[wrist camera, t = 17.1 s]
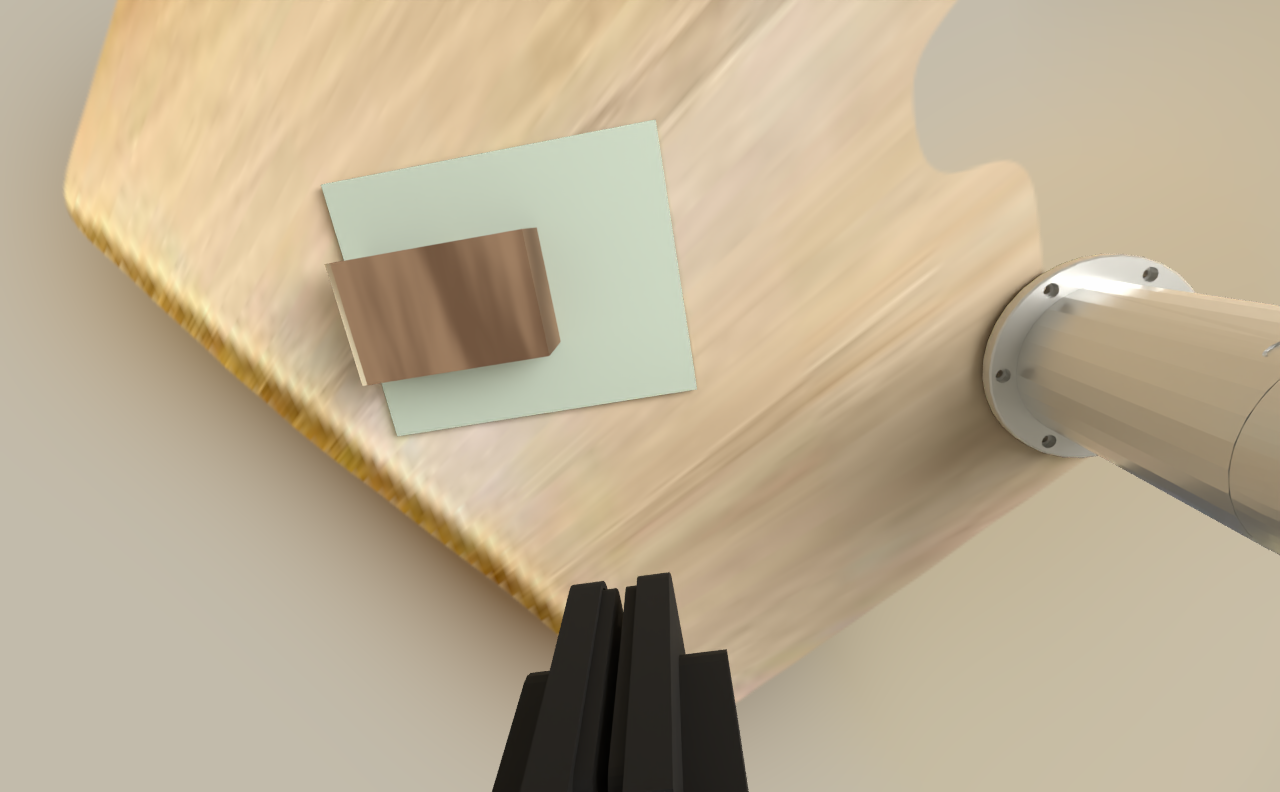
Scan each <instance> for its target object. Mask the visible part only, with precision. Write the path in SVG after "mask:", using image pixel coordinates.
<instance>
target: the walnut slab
mask: <svg viewBox="0 0 1280 792" xmlns="http://www.w3.org/2000/svg"><path fill="white" fill-rule="evenodd" d="M325 267H326V270H327V273H328V276H329V280H330V283H331V286H332V289H333V293H334V296H335V299H336V302H337V305H338V309H339V312H340V315H341V318H342V322H343V325H344V328H345V331H346V334H347V338H348V341H349V344H350V347H351V351H352V354H353V357H354V360H355V364H356V367H357V370H358V373H359V376H360V380H361V383H362V386H366V385H373V384H379V383H385V382H391V381H397V380H404V379H410V378H416V377H422V376H429V375H435V374H441V373H447V372H453V371H460V370H466V369H472V368H478V367H484V366H491V365H497V364H503V363H509V362H516V361H522V360H528V359H534V358H540V357H547V356H550V355H551V353H552V352H553V351H554V350H555V348H556V347H557V346H558V345H559V343H560V342H561V340H560V336H559V331H558V326H557V321H556V317H555V312H554V307H553V302H552V298H551V293H550V288H549V283H548V279H547V274H546V269H545V264H544V259H543V255H542V250H541V245H540V240H539V236H538V231H537V227H536V228H526V229H519V230H513V231H507V232H502V233H496V234H491V235H485V236H480V237H474V238H468V239H463V240H457V241H452V242H446V243H440V244H435V245H429V246H424V247H418V248H413V249H407V250H401V251H396V252H390V253H385V254H379V255H373V256H368V257H362V258H357V259H351V260H345V261H340V262H334V263H329V264H325Z"/></svg>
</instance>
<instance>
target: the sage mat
mask: <svg viewBox="0 0 1280 792" xmlns="http://www.w3.org/2000/svg"><path fill="white" fill-rule="evenodd" d="M321 187H322V190H323V193H324V196H325V200H326V203H327V206H328V210H329V213H330V216H331V219H332V223H333V226H334V229H335V233H336V236H337V239H338V242H339V246H340V249H341V252H342V256H343V259H344V261H345V260H351V259H357V258H362V257H368V256H373V255H379V254H385V253H390V252H396V251H401V250H407V249H413V248H418V247H424V246H429V245H435V244H440V243H446V242H452V241H457V240H463V239H468V238H474V237H480V236H485V235H491V234H496V233H502V232H507V231H513V230H519V229H526V228H536V227H537V231H538V236H539V240H540V245H541V250H542V255H543V259H544V264H545V269H546V274H547V279H548V283H549V288H550V293H551V298H552V302H553V307H554V312H555V317H556V321H557V326H558V331H559V336H560V340H561V342H560V343H559V345H558V346H557V347H556V348H555V350H554V351H553V352H552V353H551V355H550V356H547V357H540V358H534V359H528V360H522V361H516V362H509V363H503V364H497V365H491V366H484V367H478V368H472V369H466V370H460V371H453V372H447V373H441V374H435V375H429V376H422V377H416V378H410V379H404V380H397V381H391V382H385V383H381V384H382V387H383V390H384V394H385V397H386V400H387V404H388V407H389V410H390V413H391V417H392V420H393V423H394V427H395V430H396V433H397V436H403V435H409V434H416V433H422V432H428V431H435V430H441V429H447V428H454V427H460V426H467V425H473V424H479V423H486V422H492V421H498V420H505V419H511V418H517V417H524V416H530V415H537V414H543V413H549V412H556V411H562V410H568V409H575V408H581V407H588V406H594V405H600V404H607V403H613V402H619V401H626V400H632V399H639V398H645V397H651V396H658V395H664V394H670V393H677V392H683V391H690V390H696V389H697V386H696V379H695V373H694V366H693V360H692V353H691V347H690V340H689V334H688V327H687V321H686V314H685V308H684V301H683V295H682V288H681V282H680V275H679V269H678V262H677V256H676V249H675V243H674V236H673V230H672V223H671V217H670V210H669V204H668V197H667V191H666V184H665V178H664V171H663V165H662V158H661V152H660V145H659V139H658V132H657V126H656V120H651V121H646V122H640V123H635V124H630V125H625V126H620V127H615V128H610V129H604V130H599V131H594V132H589V133H584V134H579V135H574V136H569V137H563V138H558V139H553V140H548V141H543V142H538V143H533V144H527V145H522V146H517V147H512V148H507V149H502V150H497V151H492V152H486V153H481V154H476V155H471V156H466V157H461V158H456V159H451V160H445V161H440V162H435V163H430V164H425V165H420V166H415V167H409V168H404V169H399V170H394V171H389V172H384V173H379V174H374V175H368V176H363V177H358V178H353V179H348V180H343V181H338V182H332V183H327V184H322V185H321Z"/></svg>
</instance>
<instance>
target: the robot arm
mask: <svg viewBox="0 0 1280 792" xmlns="http://www.w3.org/2000/svg"><path fill="white" fill-rule="evenodd" d="M1045 287H1046V290H1045V291H1044V288H1045ZM998 371H999V374H998V375H996V374H997V373H998ZM983 384H984V390H985V396H986V398H987V401H988V403H989V406H990V408H991V410H992V413H993V414H994V415H995V417H996V418H997V420H998V421H999V422H1000V424H1001V425H1002V426H1003V427H1004V428H1005V429H1006V430H1007V431H1008V432H1009V433H1011V434H1012V435H1013V436H1014V437H1015V438H1017V439H1019V440H1020V441H1022V442H1023V443H1025V444H1026V445H1028V446H1030V447H1032V448H1034V449H1036V450H1038V451H1040V452H1043V453H1046V454H1051V455H1055V456H1060V457H1070V458H1086V457H1093V456H1100V457H1102V458H1104V459H1106V460H1108V461H1110V462H1111V463H1113V464H1115V465H1117V466H1118V467H1120V468H1122V469H1124V470H1126V471H1127V472H1129V473H1131V474H1133V475H1135V476H1136V477H1138V478H1140V479H1142V480H1144V481H1146V482H1147V483H1149V484H1151V485H1153V486H1155V487H1156V488H1158V489H1160V490H1162V491H1164V492H1166V493H1167V494H1169V495H1171V496H1173V497H1174V498H1176V499H1178V500H1180V501H1182V502H1184V503H1185V504H1187V505H1189V506H1191V507H1193V508H1194V509H1196V510H1198V511H1200V512H1202V513H1203V514H1205V515H1207V516H1209V517H1211V518H1212V519H1215V520H1216V521H1218V522H1220V523H1222V524H1223V525H1225V526H1227V527H1229V528H1231V529H1232V530H1234V531H1236V532H1238V533H1240V534H1241V535H1243V536H1245V537H1247V538H1249V539H1250V540H1252V541H1254V542H1256V543H1258V544H1260V545H1261V546H1263V547H1265V548H1267V549H1269V550H1271V551H1273V552H1275V553H1277V554H1279V555H1280V305H1273V304H1266V303H1259V302H1252V301H1246V300H1239V299H1232V298H1225V297H1219V296H1212V295H1205V294H1198V293H1195V292H1194V290H1193V289H1192V287H1191V286H1190V285H1189V284H1188V283H1187V282H1186V281H1185V280H1184V279H1183V278H1182V277H1181V276H1180V275H1179V274H1178V273H1177V272H1175V271H1174V270H1172V269H1170V268H1169V267H1167V266H1165V265H1164V264H1162V263H1160V262H1157V261H1154V260H1151V259H1148V258H1145V257H1141V256H1133V255H1125V254H1098V255H1091V256H1085V257H1080V258H1077V259H1074V260H1071V261H1069V262H1066V263H1063V264H1060V265H1058V266H1056V267H1054V268H1052V269H1051V270H1049V271H1047V272H1045V273H1043V274H1041V275H1040V276H1038V277H1037V278H1036V279H1035V280H1033V281H1032V282H1031V283H1029V284H1028V285H1027V286H1026V287H1024V288H1023V289H1022V290H1021V291H1020V292H1019V293H1018V294H1017V295H1016V296H1015V298H1014V299H1013V300H1012V301H1011V302H1010V303H1009V304H1008V305H1007V307H1006V308H1005V310H1004V311H1003V313H1002V314H1001V316H1000V317H999V319H998V320H997V322H996V323H995V326H994V328H993V330H992V333H991V335H990V337H989V339H988V342H987V346H986V350H985V355H984V359H983ZM492 792H749V791H748V785H747V778H746V772H745V764H744V758H743V751H742V745H741V738H740V731H739V725H738V718H737V712H736V705H735V699H734V692H733V686H732V680H731V673H730V667H729V661H728V655H727V649H726V650H718V651H709V652H701V653H693V654H685V649H684V643H683V638H682V632H681V627H680V621H679V616H678V610H677V605H676V599H675V594H674V588H673V583H672V578H671V574H670V572H668V573H660V574H653V575H645V576H638V578H637V586H630V587H626V592H625V602H624V612H623V608H622V604H621V599H620V595H619V591H618V589H617V588H614V589H607V586H606V584H605V582H604V581H600V582H592V583H585V584H577V585H572V586H571V588H570V591H569V595H568V599H567V603H566V607H565V611H564V615H563V619H562V623H561V627H560V631H559V635H558V640H557V644H556V648H555V652H554V656H553V660H552V664H551V668H550V671H544V672H535V673H530V674H529V675H528V676H527V678H526V680H525V682H524V685H523V689H522V692H521V695H520V699H519V702H518V705H517V709H516V712H515V716H514V719H513V722H512V726H511V729H510V733H509V736H508V739H507V743H506V746H505V750H504V753H503V756H502V760H501V763H500V767H499V770H498V774H497V777H496V780H495V783H494V787H493V790H492Z"/></svg>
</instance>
